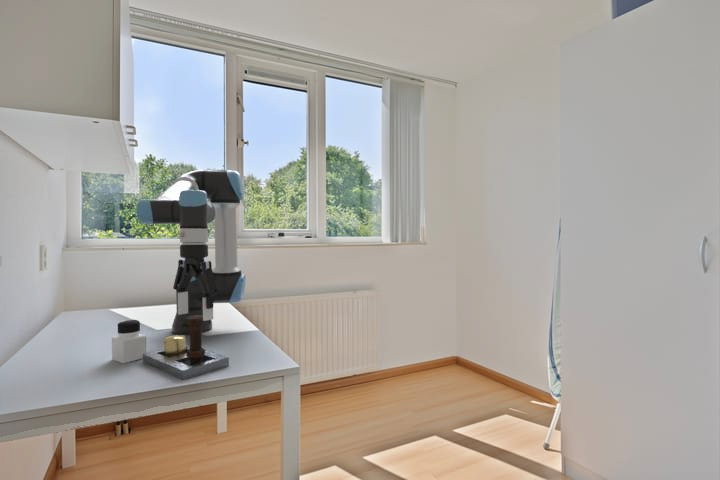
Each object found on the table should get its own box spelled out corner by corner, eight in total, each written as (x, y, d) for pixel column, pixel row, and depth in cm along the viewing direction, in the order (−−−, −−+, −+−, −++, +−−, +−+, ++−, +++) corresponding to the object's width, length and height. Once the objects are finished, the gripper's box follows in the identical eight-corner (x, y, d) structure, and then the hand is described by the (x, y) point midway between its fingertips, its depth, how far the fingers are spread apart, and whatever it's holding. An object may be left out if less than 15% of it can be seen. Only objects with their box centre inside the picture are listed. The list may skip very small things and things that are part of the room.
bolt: (197, 372, 112) (197, 319, 112) (181, 370, 113) (181, 318, 113) (209, 365, 118) (209, 315, 118) (194, 364, 119) (193, 314, 119)
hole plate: (142, 362, 121) (142, 339, 121) (186, 351, 132) (186, 330, 132) (183, 379, 106) (182, 353, 106) (228, 365, 117) (228, 342, 117)
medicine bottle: (146, 357, 126) (146, 320, 126) (123, 364, 120) (122, 324, 120) (135, 354, 130) (134, 317, 130) (111, 360, 124) (111, 321, 124)
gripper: (160, 243, 120) (161, 313, 120) (205, 245, 104) (206, 325, 105) (184, 242, 126) (185, 309, 126) (230, 244, 110) (231, 320, 111)
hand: (195, 316), depth 116 cm, fingers open, 13 cm apart
